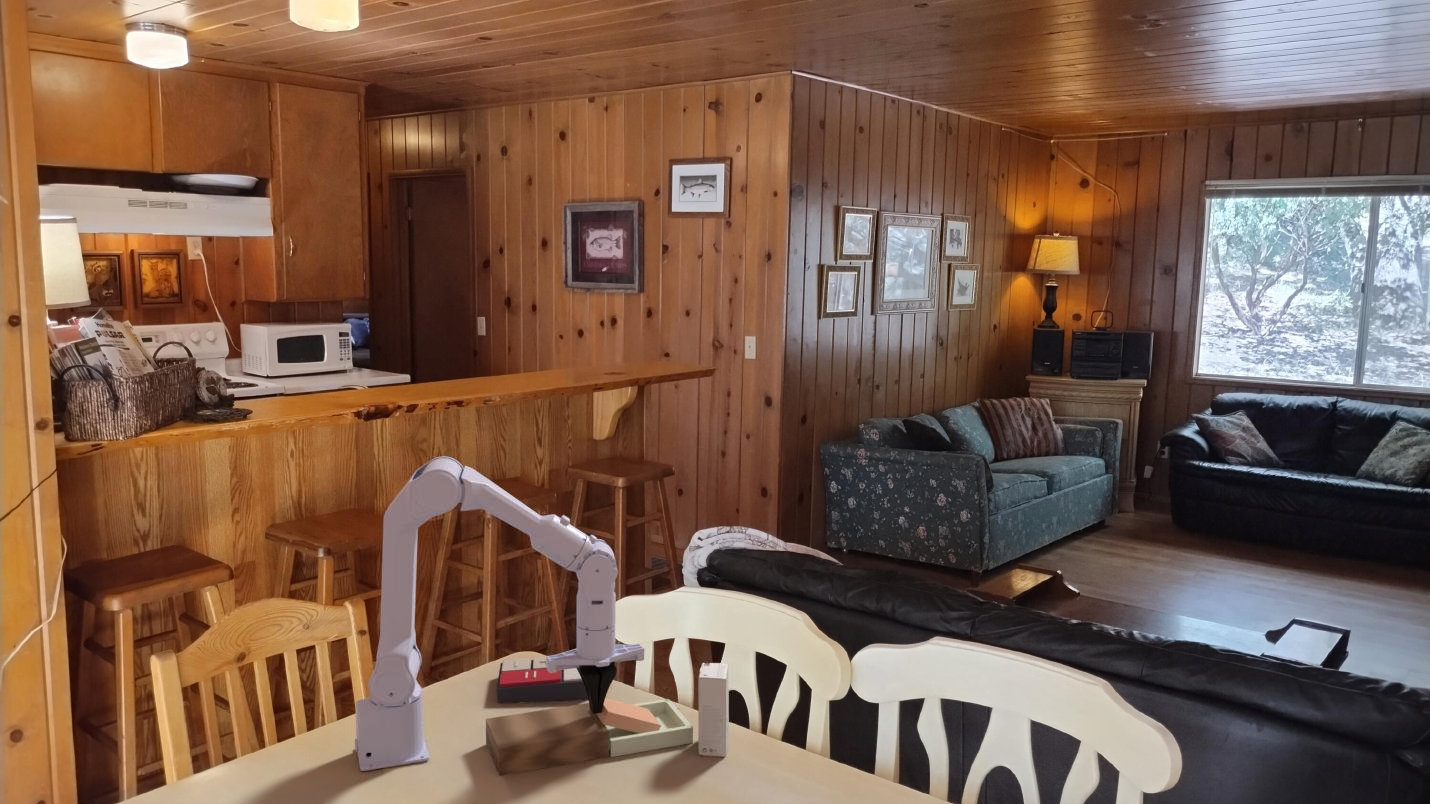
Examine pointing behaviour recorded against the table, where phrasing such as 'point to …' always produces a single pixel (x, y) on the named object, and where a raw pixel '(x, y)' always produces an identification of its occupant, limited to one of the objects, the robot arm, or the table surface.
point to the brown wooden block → (546, 738)
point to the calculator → (537, 682)
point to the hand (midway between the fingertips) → (595, 710)
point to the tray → (668, 735)
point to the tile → (628, 717)
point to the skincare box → (713, 709)
